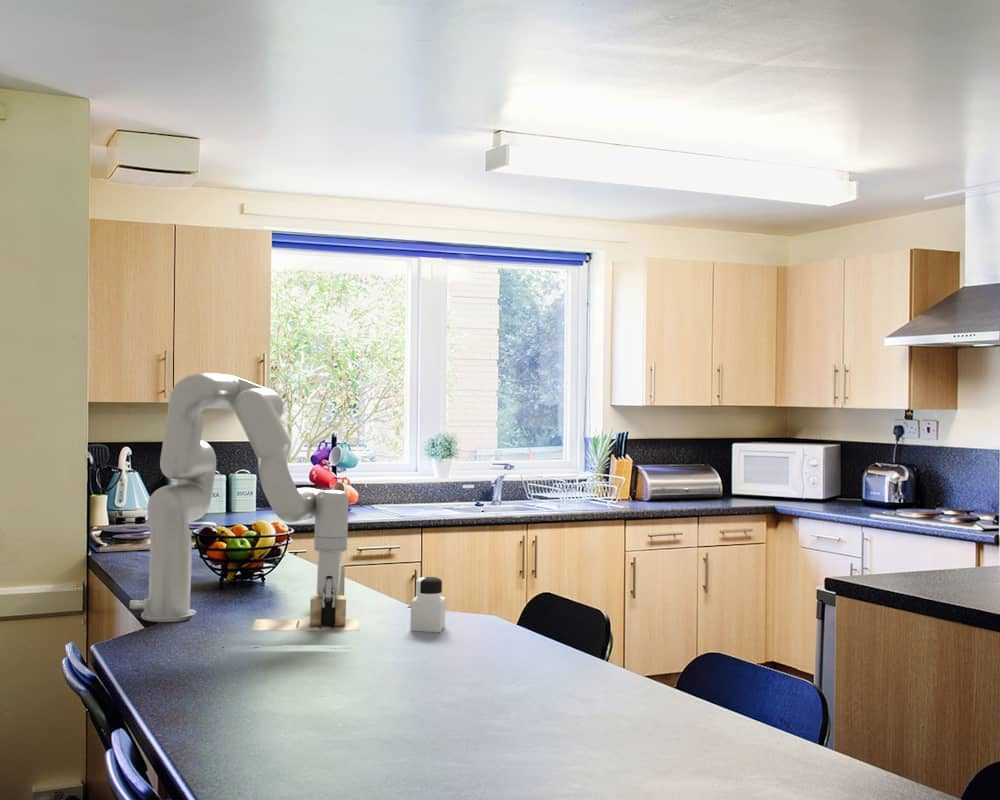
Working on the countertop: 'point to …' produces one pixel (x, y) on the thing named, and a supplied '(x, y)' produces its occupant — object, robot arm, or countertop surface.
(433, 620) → the medicine bottle
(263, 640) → the countertop surface
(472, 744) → the countertop surface
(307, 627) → the board
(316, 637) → the countertop surface
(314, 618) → the block
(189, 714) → the countertop surface
